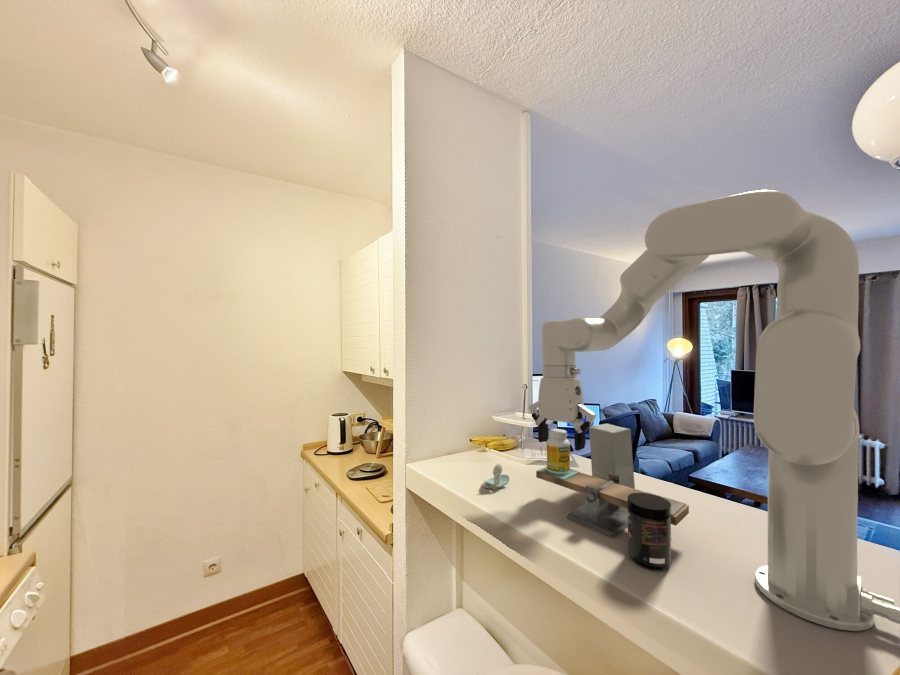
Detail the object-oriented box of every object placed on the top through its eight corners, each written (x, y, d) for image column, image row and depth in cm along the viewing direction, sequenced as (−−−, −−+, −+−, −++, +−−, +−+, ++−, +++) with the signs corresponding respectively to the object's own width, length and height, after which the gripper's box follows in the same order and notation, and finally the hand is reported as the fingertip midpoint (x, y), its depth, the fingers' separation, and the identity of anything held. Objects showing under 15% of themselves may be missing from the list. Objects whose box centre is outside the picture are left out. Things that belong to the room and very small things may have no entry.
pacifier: (476, 487, 97) (494, 493, 92) (475, 463, 97) (493, 468, 92) (495, 480, 102) (512, 485, 97) (494, 457, 102) (511, 461, 97)
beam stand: (640, 516, 80) (640, 479, 80) (612, 538, 72) (612, 496, 72) (596, 500, 88) (596, 467, 88) (566, 518, 79) (566, 481, 79)
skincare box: (635, 492, 92) (635, 429, 92) (613, 497, 90) (613, 432, 89) (609, 480, 100) (609, 421, 100) (588, 484, 97) (588, 424, 97)
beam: (690, 513, 71) (690, 502, 71) (674, 528, 66) (674, 517, 66) (554, 470, 94) (554, 462, 94) (534, 479, 88) (534, 470, 88)
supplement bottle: (556, 465, 92) (556, 426, 92) (574, 472, 87) (574, 431, 87) (541, 469, 89) (541, 430, 89) (559, 476, 85) (559, 435, 84)
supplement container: (656, 548, 68) (656, 492, 68) (680, 572, 61) (680, 509, 61) (620, 549, 68) (620, 492, 68) (640, 573, 61) (640, 510, 61)
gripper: (601, 373, 84) (604, 449, 83) (538, 370, 97) (539, 435, 97) (584, 375, 79) (587, 456, 79) (519, 372, 92) (521, 441, 92)
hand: (560, 445), depth 88 cm, fingers open, 9 cm apart
